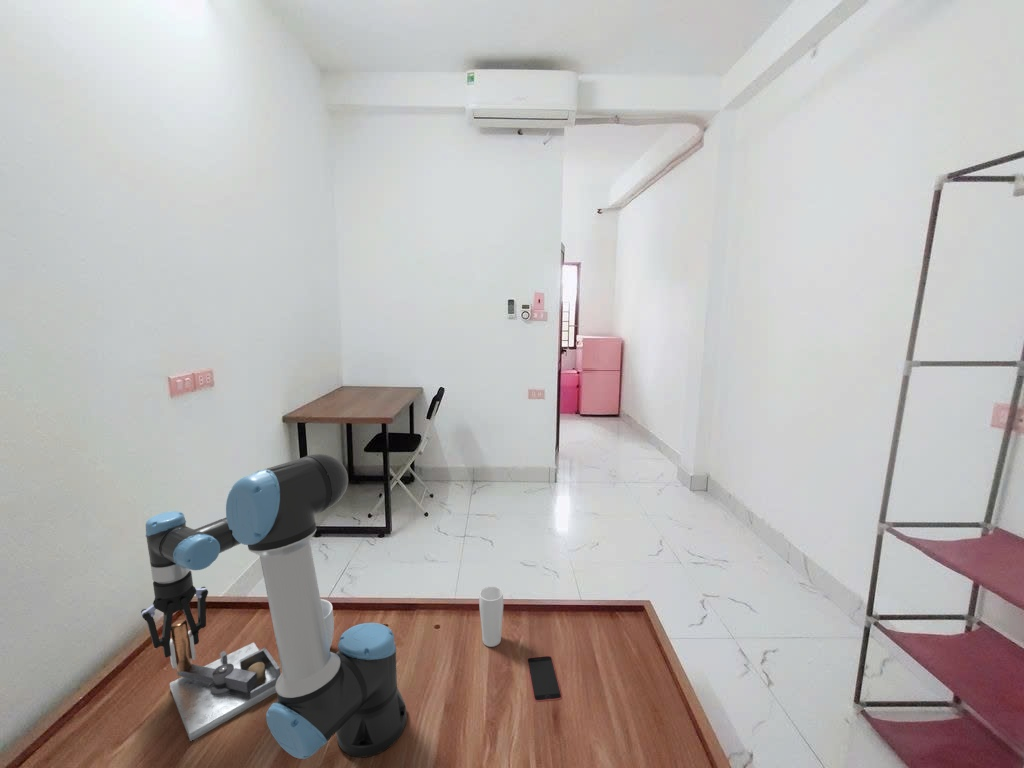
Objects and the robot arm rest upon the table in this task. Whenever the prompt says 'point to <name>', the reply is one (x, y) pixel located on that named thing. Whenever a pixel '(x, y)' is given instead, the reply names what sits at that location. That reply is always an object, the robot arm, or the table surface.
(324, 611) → the mug
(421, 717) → the table surface
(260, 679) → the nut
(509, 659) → the table surface
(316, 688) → the robot arm
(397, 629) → the table surface
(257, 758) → the table surface
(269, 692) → the grey flat slab fixture
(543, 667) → the smartphone
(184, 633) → the lever
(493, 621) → the white tall cup
